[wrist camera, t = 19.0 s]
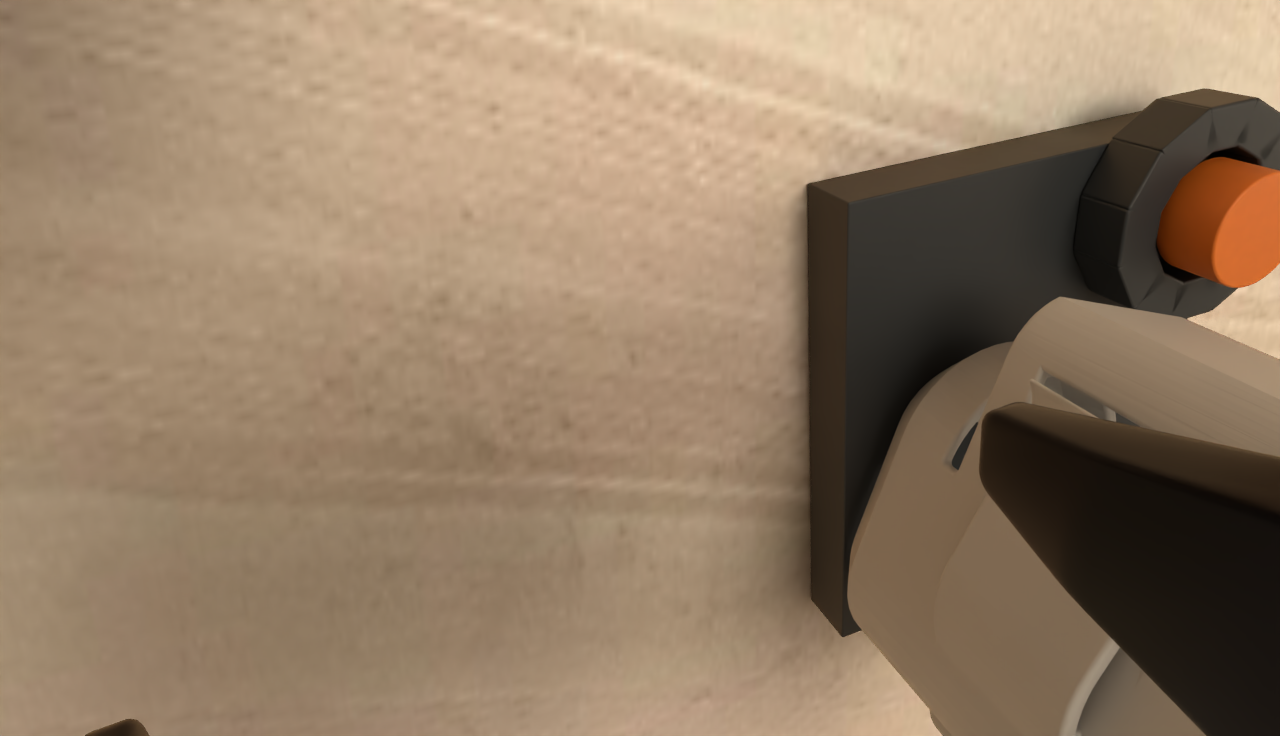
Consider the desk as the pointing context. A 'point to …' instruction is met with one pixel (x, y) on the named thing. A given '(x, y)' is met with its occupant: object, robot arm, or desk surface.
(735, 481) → the desk surface
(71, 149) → the desk surface
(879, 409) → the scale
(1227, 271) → the button
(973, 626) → the beige plastic holder
